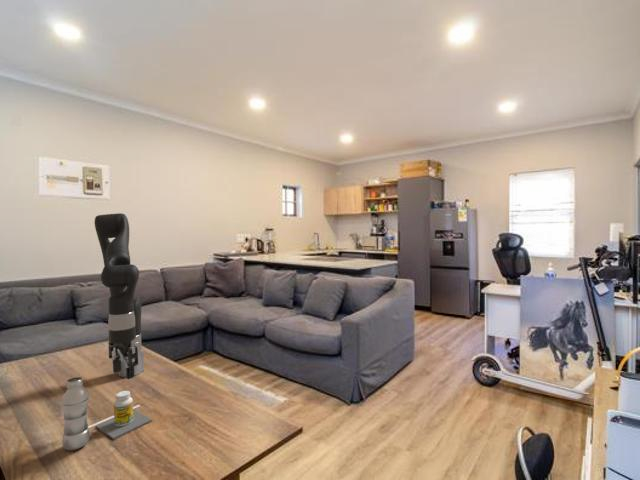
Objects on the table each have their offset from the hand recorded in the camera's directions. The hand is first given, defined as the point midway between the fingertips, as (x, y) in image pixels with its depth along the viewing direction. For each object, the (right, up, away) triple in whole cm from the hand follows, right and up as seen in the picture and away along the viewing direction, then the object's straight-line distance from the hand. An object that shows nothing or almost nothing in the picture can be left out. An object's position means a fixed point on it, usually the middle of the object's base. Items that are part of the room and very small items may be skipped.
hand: (123, 374), depth 111 cm
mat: (0, -16, 0) cm, 16 cm away
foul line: (-7, -16, +4) cm, 18 cm away
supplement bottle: (0, -16, 0) cm, 16 cm away
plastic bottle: (-7, -17, -11) cm, 22 cm away
